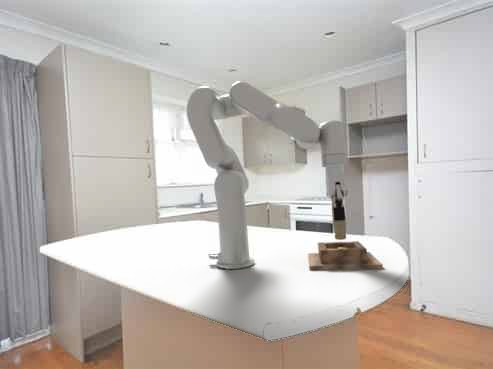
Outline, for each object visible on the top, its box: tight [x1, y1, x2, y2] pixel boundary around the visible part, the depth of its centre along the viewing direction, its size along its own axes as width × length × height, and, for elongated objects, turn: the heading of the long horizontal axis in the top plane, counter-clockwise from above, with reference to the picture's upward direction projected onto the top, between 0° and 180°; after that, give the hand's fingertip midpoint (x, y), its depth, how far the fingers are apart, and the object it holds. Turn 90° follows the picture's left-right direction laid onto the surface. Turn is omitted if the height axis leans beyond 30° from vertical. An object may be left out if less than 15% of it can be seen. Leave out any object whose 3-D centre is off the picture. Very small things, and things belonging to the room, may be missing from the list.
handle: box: [325, 190, 349, 241], centre depth 90 cm, size 5×6×15 cm
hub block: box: [307, 240, 384, 271], centre depth 90 cm, size 20×16×6 cm
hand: (338, 218), depth 90 cm, fingers closed on handle, 3 cm apart
